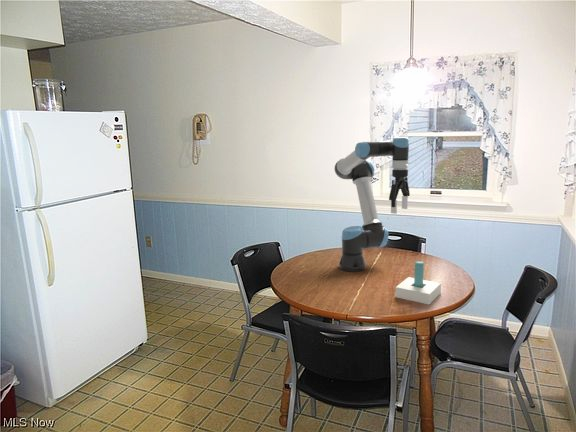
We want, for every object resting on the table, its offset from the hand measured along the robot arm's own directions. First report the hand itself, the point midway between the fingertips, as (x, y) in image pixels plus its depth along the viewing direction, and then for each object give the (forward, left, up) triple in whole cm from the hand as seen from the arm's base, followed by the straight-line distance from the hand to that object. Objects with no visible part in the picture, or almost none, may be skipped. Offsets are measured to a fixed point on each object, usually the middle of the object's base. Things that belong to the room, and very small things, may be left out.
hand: (399, 211), depth 214 cm
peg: (+16, -14, -37) cm, 42 cm away
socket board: (+16, -14, -37) cm, 42 cm away
